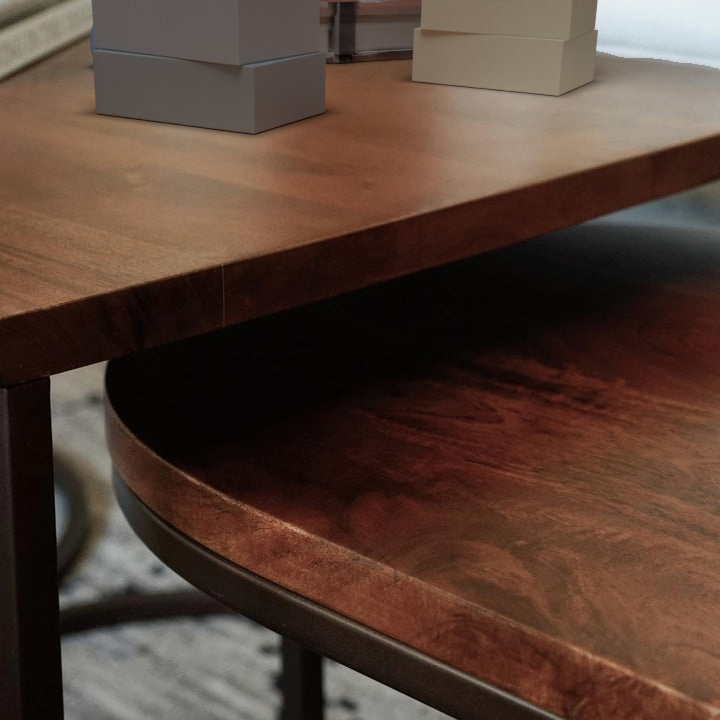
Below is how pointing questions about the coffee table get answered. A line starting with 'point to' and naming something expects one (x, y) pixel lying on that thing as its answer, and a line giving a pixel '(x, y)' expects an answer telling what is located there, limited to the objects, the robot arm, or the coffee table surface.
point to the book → (368, 29)
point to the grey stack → (209, 62)
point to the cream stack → (507, 44)
